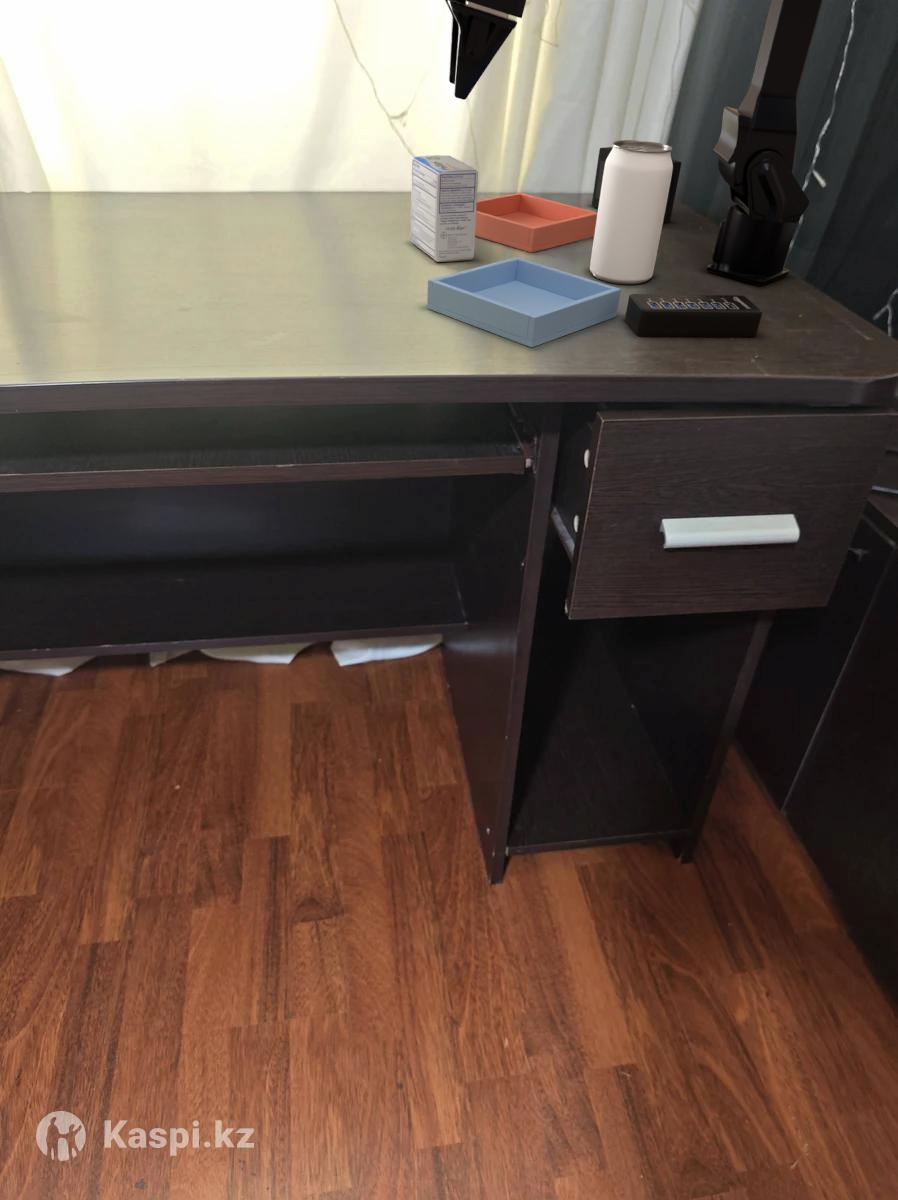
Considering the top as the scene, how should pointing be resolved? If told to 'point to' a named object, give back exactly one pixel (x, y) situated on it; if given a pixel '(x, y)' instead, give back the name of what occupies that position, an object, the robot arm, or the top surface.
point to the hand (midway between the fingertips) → (456, 90)
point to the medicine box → (443, 207)
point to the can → (631, 211)
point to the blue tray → (523, 300)
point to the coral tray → (532, 222)
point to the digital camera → (599, 177)
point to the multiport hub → (692, 315)
